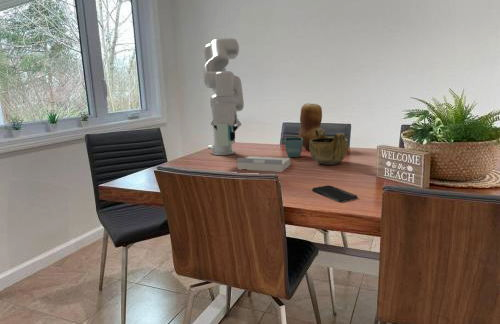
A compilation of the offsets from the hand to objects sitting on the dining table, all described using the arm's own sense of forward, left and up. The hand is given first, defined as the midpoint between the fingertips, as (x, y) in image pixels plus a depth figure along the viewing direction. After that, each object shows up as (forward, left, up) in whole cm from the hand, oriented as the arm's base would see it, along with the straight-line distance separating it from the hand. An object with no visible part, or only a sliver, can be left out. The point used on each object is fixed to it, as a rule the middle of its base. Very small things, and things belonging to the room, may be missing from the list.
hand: (226, 139), depth 165 cm
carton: (0, 0, -2) cm, 2 cm away
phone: (+53, -33, -12) cm, 64 cm away
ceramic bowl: (+44, +12, -12) cm, 48 cm away
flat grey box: (+18, -1, -12) cm, 22 cm away
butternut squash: (+29, +45, -12) cm, 55 cm away
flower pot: (+25, +24, -12) cm, 37 cm away
